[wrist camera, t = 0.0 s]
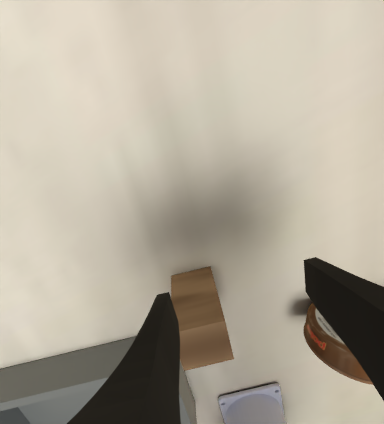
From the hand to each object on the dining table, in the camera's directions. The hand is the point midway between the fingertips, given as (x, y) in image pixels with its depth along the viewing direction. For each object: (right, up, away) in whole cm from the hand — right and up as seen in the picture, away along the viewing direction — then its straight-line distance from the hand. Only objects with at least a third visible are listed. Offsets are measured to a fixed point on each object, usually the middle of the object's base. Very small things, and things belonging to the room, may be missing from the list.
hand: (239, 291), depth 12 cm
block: (-2, -4, +12) cm, 13 cm away
